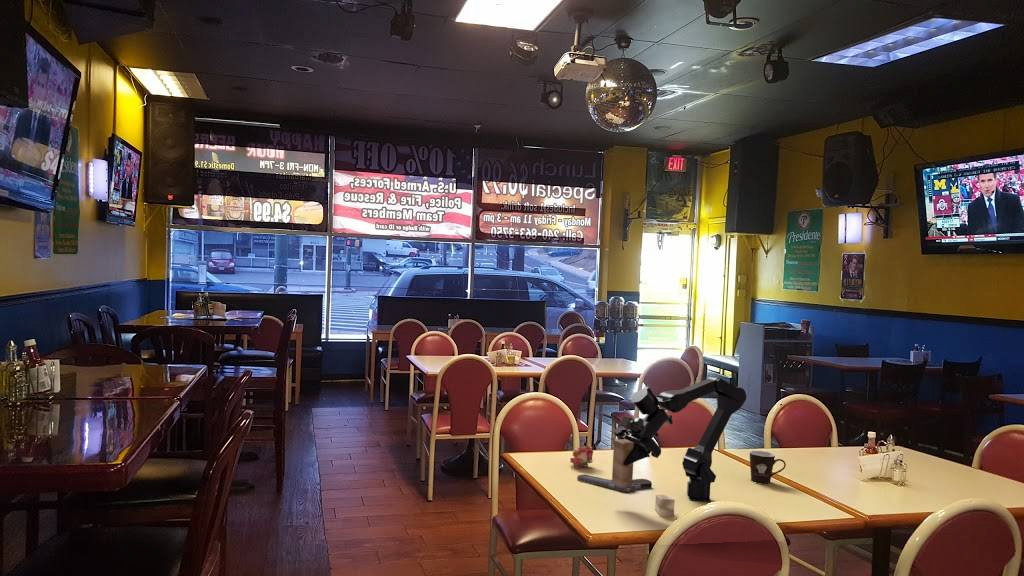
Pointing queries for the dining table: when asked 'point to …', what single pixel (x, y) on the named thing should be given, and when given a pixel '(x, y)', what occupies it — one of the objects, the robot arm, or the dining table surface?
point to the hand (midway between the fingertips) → (619, 462)
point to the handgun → (609, 484)
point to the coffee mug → (762, 466)
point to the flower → (582, 456)
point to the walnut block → (621, 472)
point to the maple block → (664, 505)
